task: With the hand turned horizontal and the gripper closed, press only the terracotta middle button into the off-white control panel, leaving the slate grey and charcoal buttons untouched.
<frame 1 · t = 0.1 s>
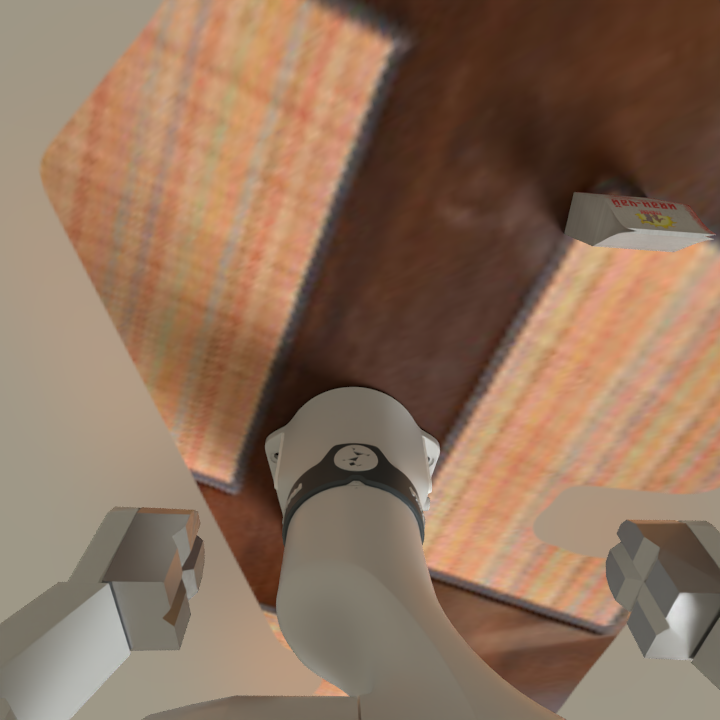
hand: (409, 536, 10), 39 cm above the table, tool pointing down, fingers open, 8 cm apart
white carton box: (604, 215, 46), on the table
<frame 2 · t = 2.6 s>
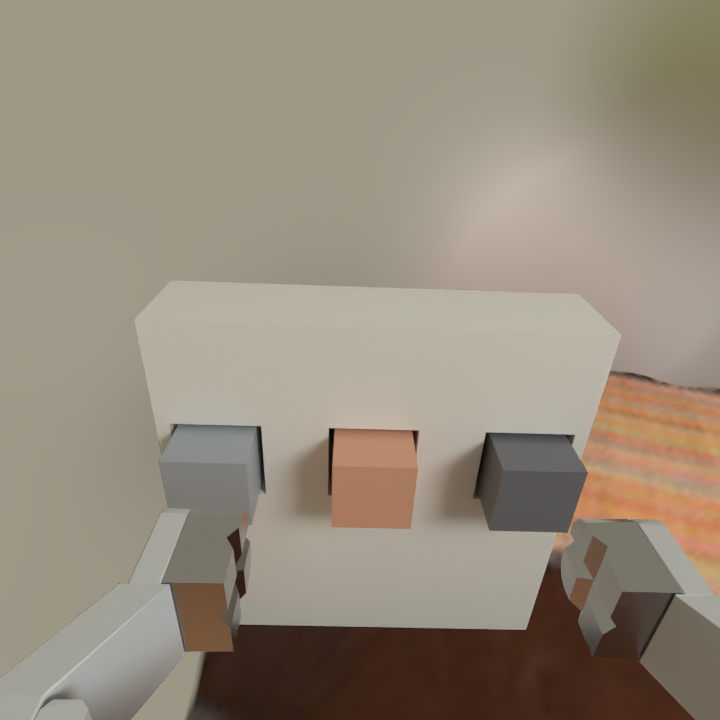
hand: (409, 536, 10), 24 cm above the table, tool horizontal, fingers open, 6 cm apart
slate grey button: (217, 466, 26), point 14 cm above the table, slide at 0.0 cm
charcoal button: (524, 474, 26), point 14 cm above the table, slide at 0.0 cm
control panel: (361, 593, 35), on the table
terracotta button: (372, 470, 26), point 14 cm above the table, slide at 0.0 cm
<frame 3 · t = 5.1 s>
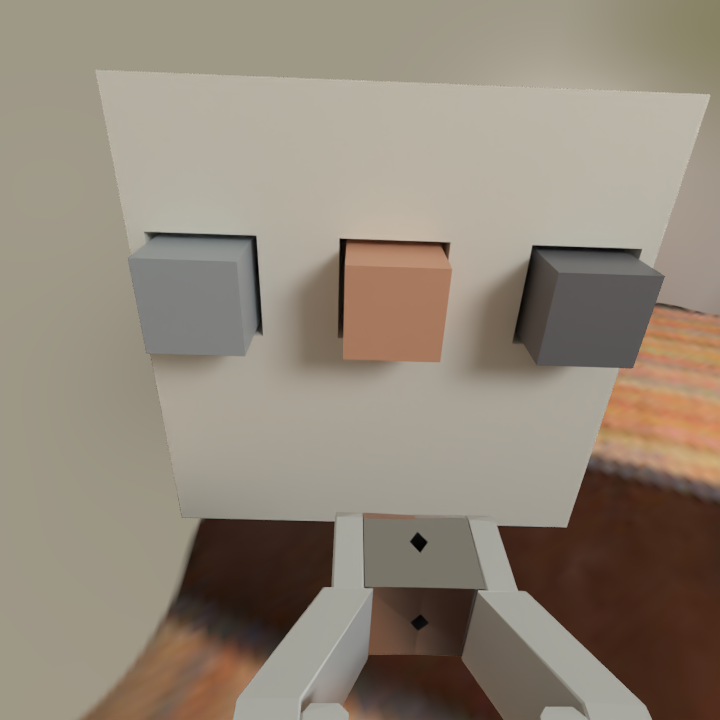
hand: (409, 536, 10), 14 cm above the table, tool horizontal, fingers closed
slate grey button: (203, 290, 21), point 14 cm above the table, slide at 0.0 cm
charcoal button: (578, 303, 21), point 14 cm above the table, slide at 0.0 cm
control panel: (374, 491, 31), on the table
terracotta button: (392, 297, 21), point 14 cm above the table, slide at 0.0 cm
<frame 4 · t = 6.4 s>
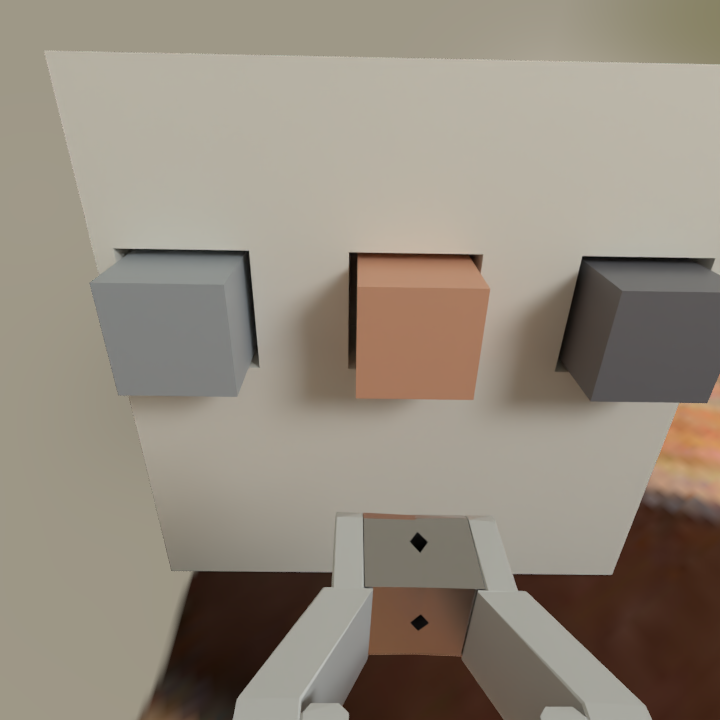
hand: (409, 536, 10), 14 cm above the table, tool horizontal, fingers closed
slate grey button: (186, 317, 18), point 14 cm above the table, slide at 0.0 cm
charcoal button: (637, 324, 18), point 14 cm above the table, slide at 0.0 cm
control panel: (389, 533, 27), on the table
terracotta button: (413, 320, 18), point 14 cm above the table, slide at 0.0 cm
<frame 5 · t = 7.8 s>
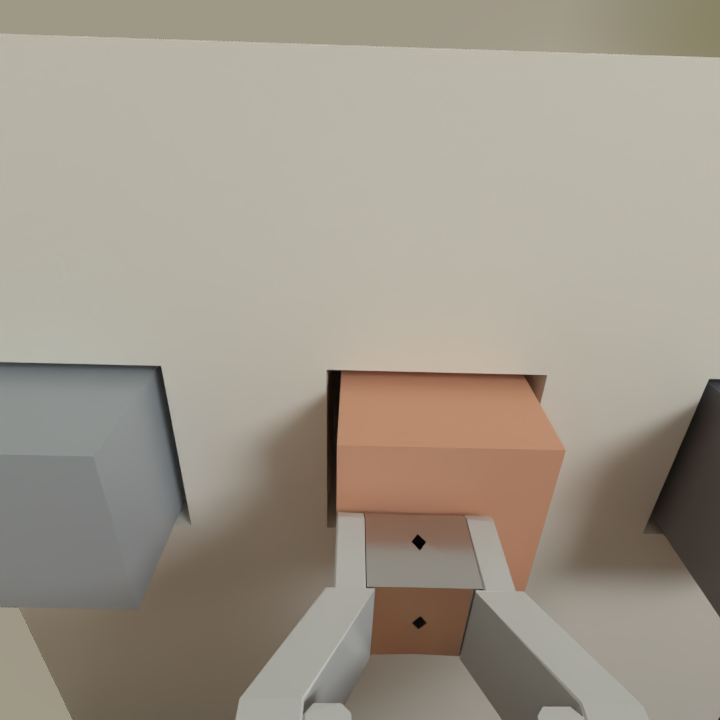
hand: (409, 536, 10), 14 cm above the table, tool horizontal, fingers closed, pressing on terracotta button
slate grey button: (64, 465, 11), point 14 cm above the table, slide at 0.0 cm
control panel: (387, 684, 20), on the table
terracotta button: (427, 460, 11), point 14 cm above the table, slide at 0.4 cm, touching gripper
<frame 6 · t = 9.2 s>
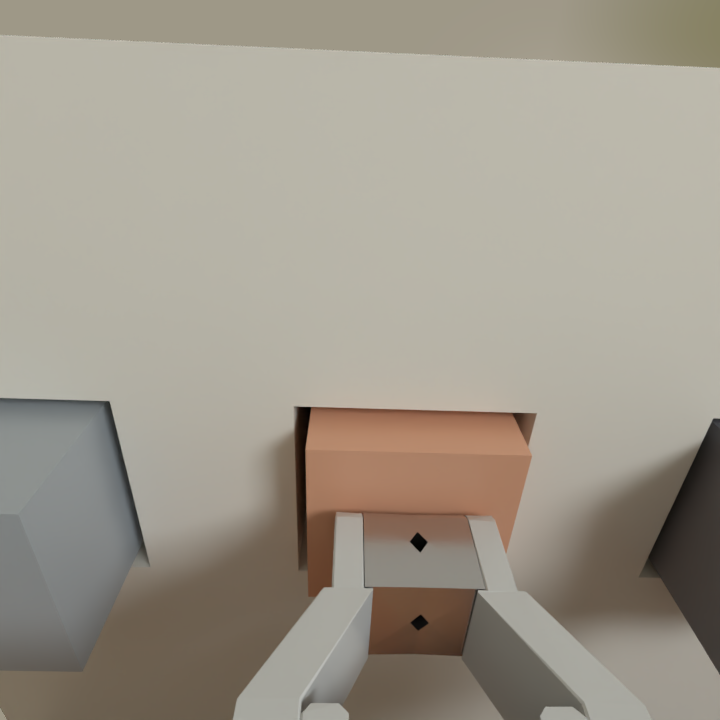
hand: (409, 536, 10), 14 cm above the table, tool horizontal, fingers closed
slate grey button: (5, 508, 10), point 14 cm above the table, slide at 0.0 cm
control panel: (370, 716, 20), on the table
terracotta button: (401, 464, 12), point 14 cm above the table, slide at 1.6 cm
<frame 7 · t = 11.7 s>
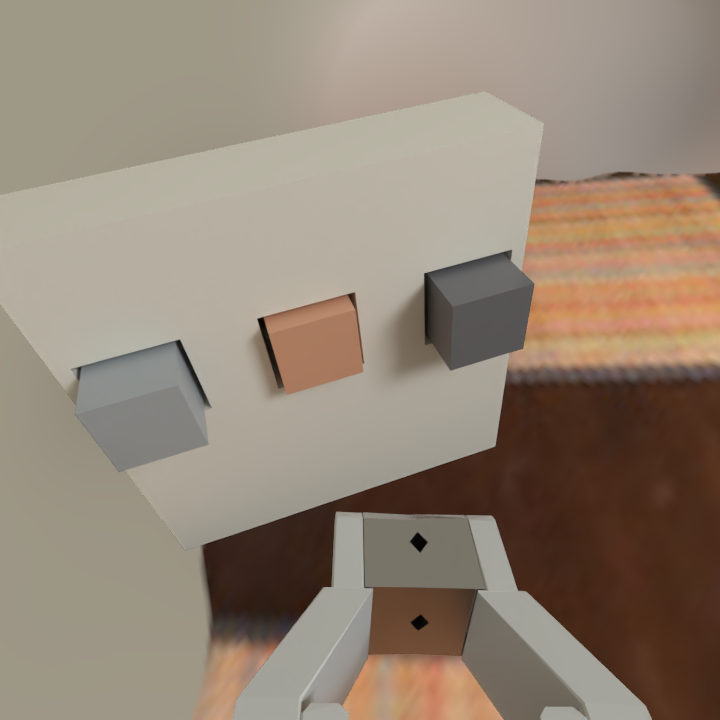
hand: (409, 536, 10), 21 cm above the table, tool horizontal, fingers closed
slate grey button: (147, 397, 23), point 14 cm above the table, slide at 0.0 cm
charcoal button: (471, 305, 25), point 14 cm above the table, slide at 0.0 cm
control panel: (337, 466, 36), on the table
terracotta button: (309, 328, 25), point 14 cm above the table, slide at 1.6 cm
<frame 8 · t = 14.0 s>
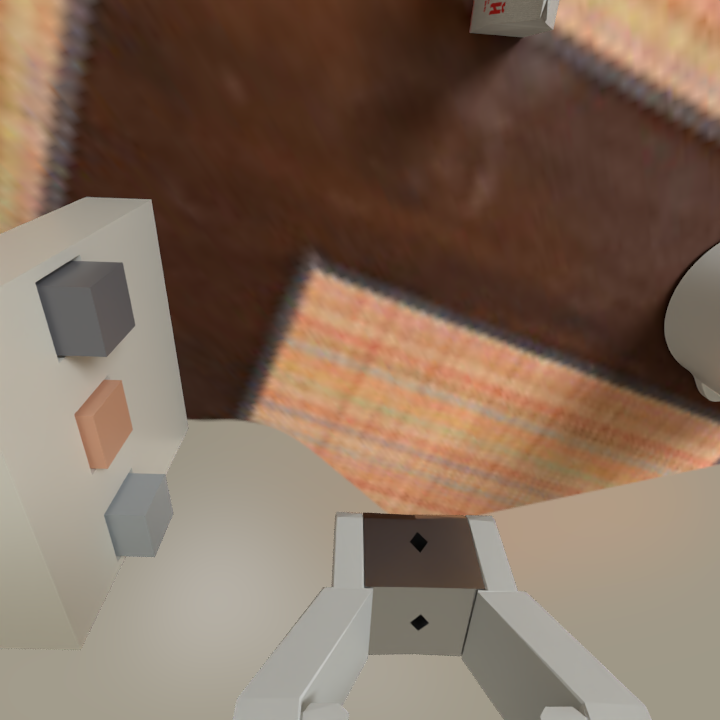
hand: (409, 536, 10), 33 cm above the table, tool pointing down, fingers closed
slate grey button: (132, 513, 36), point 14 cm above the table, slide at 0.0 cm
charcoal button: (78, 307, 28), point 14 cm above the table, slide at 0.0 cm
control panel: (143, 327, 44), on the table
terracotta button: (83, 422, 32), point 14 cm above the table, slide at 1.6 cm
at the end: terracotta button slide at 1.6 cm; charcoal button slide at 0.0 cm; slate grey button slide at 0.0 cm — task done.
